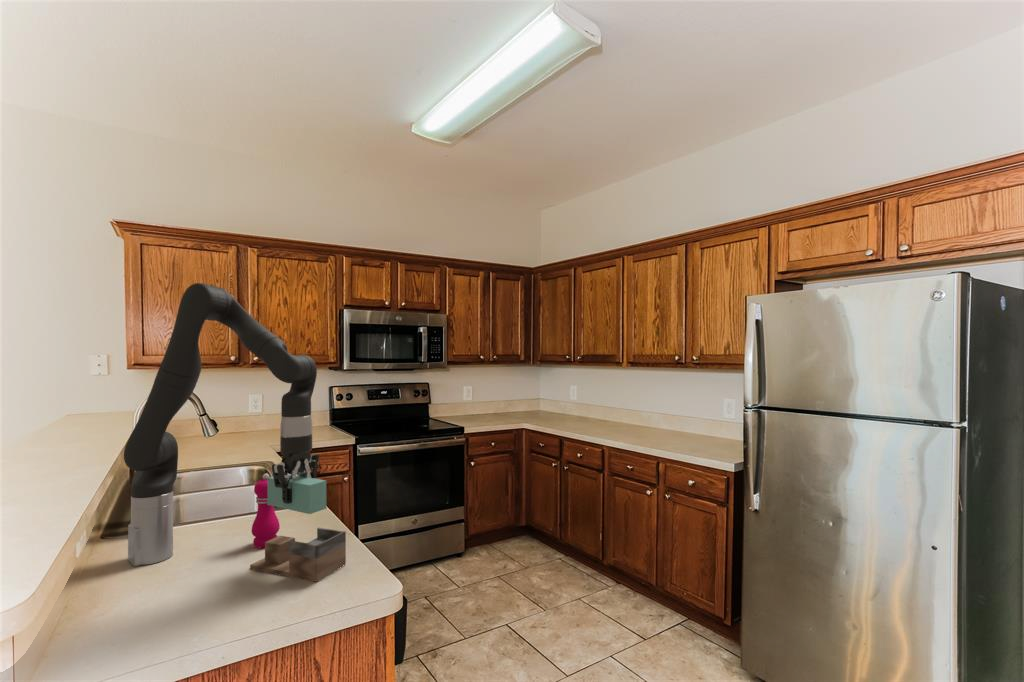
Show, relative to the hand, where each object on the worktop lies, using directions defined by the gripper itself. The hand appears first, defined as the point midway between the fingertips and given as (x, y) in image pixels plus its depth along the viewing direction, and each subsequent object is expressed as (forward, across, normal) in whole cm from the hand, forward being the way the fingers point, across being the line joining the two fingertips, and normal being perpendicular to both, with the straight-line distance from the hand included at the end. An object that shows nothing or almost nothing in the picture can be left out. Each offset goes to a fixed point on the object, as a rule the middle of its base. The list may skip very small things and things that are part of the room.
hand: (296, 499), depth 130 cm
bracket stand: (+17, 0, 0) cm, 17 cm away
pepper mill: (+17, -9, -20) cm, 28 cm away
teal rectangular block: (+2, 0, 0) cm, 2 cm away
